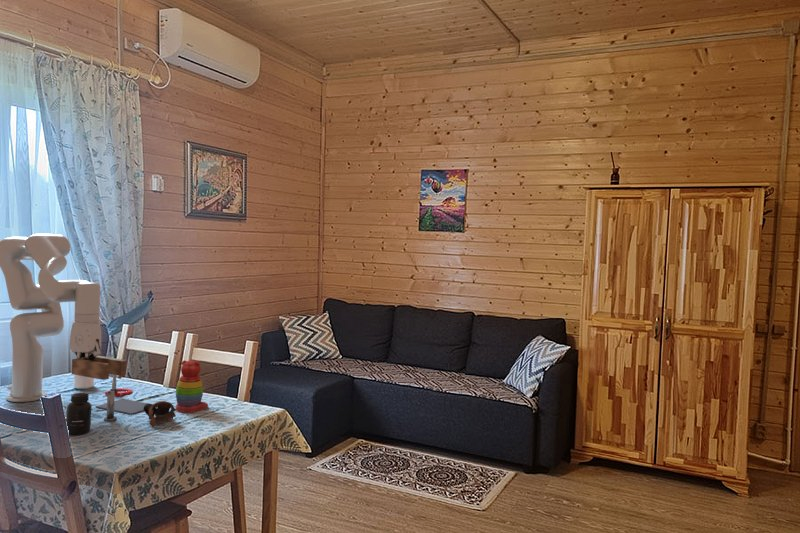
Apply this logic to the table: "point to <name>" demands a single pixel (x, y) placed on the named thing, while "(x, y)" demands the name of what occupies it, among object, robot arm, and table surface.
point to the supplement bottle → (79, 414)
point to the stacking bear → (190, 388)
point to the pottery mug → (159, 412)
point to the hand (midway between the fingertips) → (85, 371)
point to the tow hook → (118, 389)
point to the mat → (125, 406)
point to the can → (83, 382)
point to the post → (110, 406)
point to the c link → (98, 367)
